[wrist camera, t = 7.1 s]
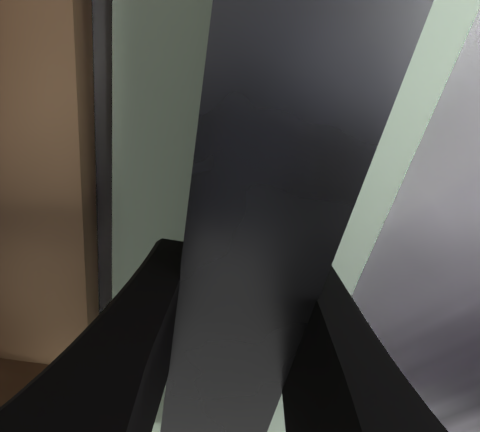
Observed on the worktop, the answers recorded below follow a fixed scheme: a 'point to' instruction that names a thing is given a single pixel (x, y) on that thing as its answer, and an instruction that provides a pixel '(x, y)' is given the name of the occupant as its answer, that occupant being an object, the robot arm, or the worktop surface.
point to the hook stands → (45, 185)
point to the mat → (186, 121)
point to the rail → (275, 190)
